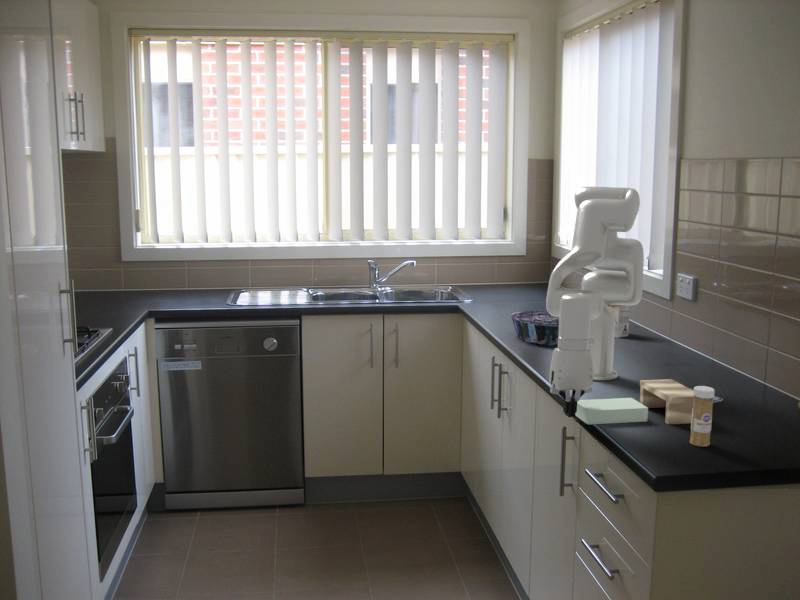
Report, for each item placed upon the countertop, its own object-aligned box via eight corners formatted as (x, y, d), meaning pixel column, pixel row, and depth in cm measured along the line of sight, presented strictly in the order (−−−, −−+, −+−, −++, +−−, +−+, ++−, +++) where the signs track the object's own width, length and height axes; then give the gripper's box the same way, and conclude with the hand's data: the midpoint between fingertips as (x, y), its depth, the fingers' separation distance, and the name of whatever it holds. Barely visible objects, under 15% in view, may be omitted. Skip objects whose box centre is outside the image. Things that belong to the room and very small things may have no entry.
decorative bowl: (561, 335, 321) (561, 309, 320) (600, 345, 295) (601, 317, 294) (500, 338, 313) (500, 312, 312) (534, 349, 287) (534, 320, 286)
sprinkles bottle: (699, 448, 193) (703, 391, 191) (685, 442, 197) (689, 386, 195) (714, 445, 195) (719, 389, 193) (700, 439, 199) (704, 384, 197)
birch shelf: (638, 405, 225) (640, 380, 224) (669, 404, 227) (671, 379, 226) (669, 424, 210) (671, 397, 209) (702, 423, 212) (704, 396, 210)
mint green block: (573, 413, 218) (573, 400, 217) (630, 410, 221) (631, 397, 220) (587, 424, 209) (588, 410, 208) (647, 421, 212) (648, 407, 212)
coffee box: (598, 333, 316) (600, 290, 313) (610, 331, 319) (612, 289, 317) (617, 338, 308) (620, 294, 306) (629, 336, 312) (632, 293, 309)
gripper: (595, 340, 215) (591, 409, 218) (539, 341, 212) (536, 412, 215) (608, 346, 207) (603, 418, 211) (550, 348, 204) (547, 421, 208)
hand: (569, 415), depth 213 cm, fingers closed
